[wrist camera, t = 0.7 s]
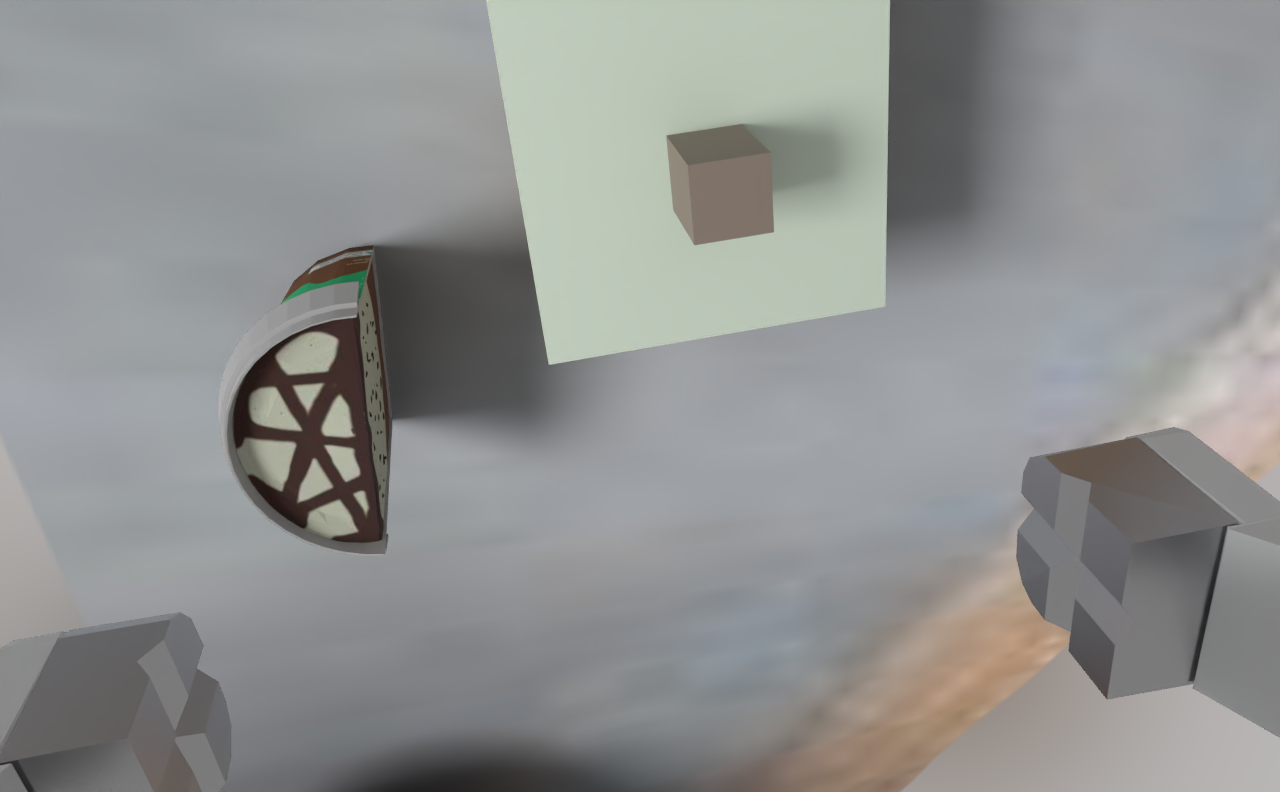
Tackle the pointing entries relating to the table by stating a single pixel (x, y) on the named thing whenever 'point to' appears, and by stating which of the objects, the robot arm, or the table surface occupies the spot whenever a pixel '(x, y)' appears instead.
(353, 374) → the food container
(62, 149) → the table surface
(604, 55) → the lid
